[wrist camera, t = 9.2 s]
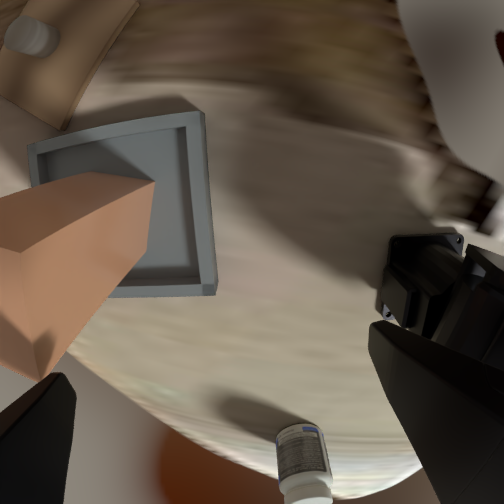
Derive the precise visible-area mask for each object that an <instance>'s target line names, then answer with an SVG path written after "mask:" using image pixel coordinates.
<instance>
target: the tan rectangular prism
mask: <svg viewBox="0 0 504 504" xmlns="http://www.w3.org/2000/svg"><path fill="white" fill-rule="evenodd" d="M154 186H155V181H149V180H144V179H138V178H132V177H125V176H119V175H113V174H106V173H100V172H93V171H89V172H85V173H81V174H77V175H73V176H70V177H66V178H62V179H59V180H55V181H52V182H48V183H45V184H42V185H38V186H35V187H32V188H29V189H26V190H22V191H19V192H16V193H13V194H10V195H7V196H4V197H1V198H0V365H2V366H4V367H6V368H8V369H10V370H12V371H14V372H16V373H18V374H20V375H22V376H24V377H27V378H29V379H31V380H33V381H36V382H40V381H41V380H42V379H44V378H45V377H46V376H48V374H49V373H50V372H51V370H52V369H53V367H54V366H55V365H56V363H57V362H58V360H59V359H60V358H61V356H62V355H63V354H64V352H65V351H66V350H67V348H68V347H69V346H70V344H71V343H72V342H73V340H74V339H75V338H76V336H77V335H78V334H79V333H80V331H81V330H82V329H83V327H84V326H85V325H86V323H87V322H88V321H89V320H90V318H91V317H92V316H93V315H94V313H95V312H96V311H97V310H98V308H99V307H100V306H101V305H102V303H103V302H104V301H105V300H106V298H107V297H108V296H109V295H110V294H111V292H112V291H113V290H114V289H115V287H116V286H117V285H118V284H119V283H120V281H121V280H122V279H123V278H124V277H125V276H126V274H127V273H128V272H129V271H130V270H131V268H132V267H133V266H134V265H135V264H136V263H137V262H138V260H139V259H140V258H141V257H142V256H143V255H144V253H145V252H146V249H147V239H148V230H149V222H150V214H151V207H152V199H153V192H154Z"/></svg>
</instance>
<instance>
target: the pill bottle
mask: <svg viewBox="0 0 504 504" xmlns="http://www.w3.org/2000/svg"><path fill="white" fill-rule="evenodd" d="M276 452H277V464H278V476H279V488H280V491H281V492H282V493H283V494H284V495H285V497H284V502H285V504H332V502H333V499H332V494H331V489H330V487H331V485H332V482H333V477H332V473H331V468H330V463H329V459H328V454H327V449H326V445H325V440H324V436H323V432H322V431H321V429H320V428H318V427H317V426H315V425H312V424H296V425H292V426H290V427H287V428H285V429H284V430H282V431H281V432H280V433H279V434H278V435H277V437H276Z"/></svg>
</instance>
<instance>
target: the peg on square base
mask: <svg viewBox="0 0 504 504" xmlns="http://www.w3.org/2000/svg"><path fill="white" fill-rule="evenodd" d="M139 6H140V4H139V3H138V2H137V1H136V0H29V1H28V2H27V4H26V5H25V7H24V9H23V10H22V12H21V14H20V15H19V17H18V18H16V19H15V20H14V21H13V22H12V23H11V24H10V26H9V27H8V29H7V31H6V33H5V37H4V44H3V46H2V48H1V50H0V95H1V96H2V97H4V98H6V99H7V100H9V101H11V102H12V103H14V104H16V105H17V106H19V107H21V108H22V109H24V110H26V111H27V112H29V113H31V114H32V115H34V116H36V117H37V118H39V119H41V120H42V121H44V122H46V123H47V124H49V125H51V126H52V127H54V128H56V129H57V130H59V131H62V130H66V127H67V125H68V123H69V121H70V119H71V117H72V115H73V113H74V111H75V109H76V107H77V105H78V103H79V101H80V99H81V97H82V95H83V93H84V91H85V90H86V88H87V86H88V84H89V82H90V80H91V79H92V77H93V75H94V73H95V72H96V70H97V68H98V67H99V65H100V63H101V62H102V60H103V58H104V57H105V55H106V53H107V52H108V50H109V49H110V47H111V46H112V44H113V43H114V41H115V40H116V38H117V37H118V35H119V34H120V32H121V31H122V29H123V28H124V26H125V25H126V23H127V22H128V21H129V19H130V18H131V17H132V15H133V14H134V12H135V11H136V10H137V8H138V7H139Z"/></svg>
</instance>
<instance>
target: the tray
mask: <svg viewBox="0 0 504 504" xmlns="http://www.w3.org/2000/svg"><path fill="white" fill-rule="evenodd" d="M27 150H28V161H29V170H30V178H31V186H32V187H35V186H38V185H42V184H45V183H48V182H52V181H55V180H59V179H62V178H66V177H70V176H73V175H77V174H81V173H85V172H89V171H93V172H100V173H106V174H113V175H119V176H125V177H132V178H138V179H144V180H149V181H155V186H154V192H153V199H152V207H151V214H150V222H149V230H148V239H147V249H146V252H145V253H144V255H143V256H142V257H141V258H140V259H139V260H138V262H137V263H136V264H135V265H134V266H133V267H132V268H131V270H130V271H129V272H128V273H127V274H126V276H125V277H124V278H123V279H122V280H121V281H120V283H119V284H118V285H117V286H116V287H115V289H114V290H113V291H112V292H111V294H110V295H109V296H108V297H107V298H134V297H183V296H213V295H216V290H217V286H218V274H217V264H216V254H215V243H214V232H213V221H212V210H211V198H210V186H209V173H208V159H207V145H206V130H205V114H204V113H203V112H201V111H192V112H183V113H175V114H168V115H161V116H154V117H147V118H141V119H135V120H130V121H124V122H119V123H114V124H109V125H104V126H99V127H95V128H90V129H86V130H81V131H77V132H73V133H69V134H65V135H61V136H58V137H54V138H50V139H47V140H43V141H40V142H36V143H33V144H30V145H27Z"/></svg>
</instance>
